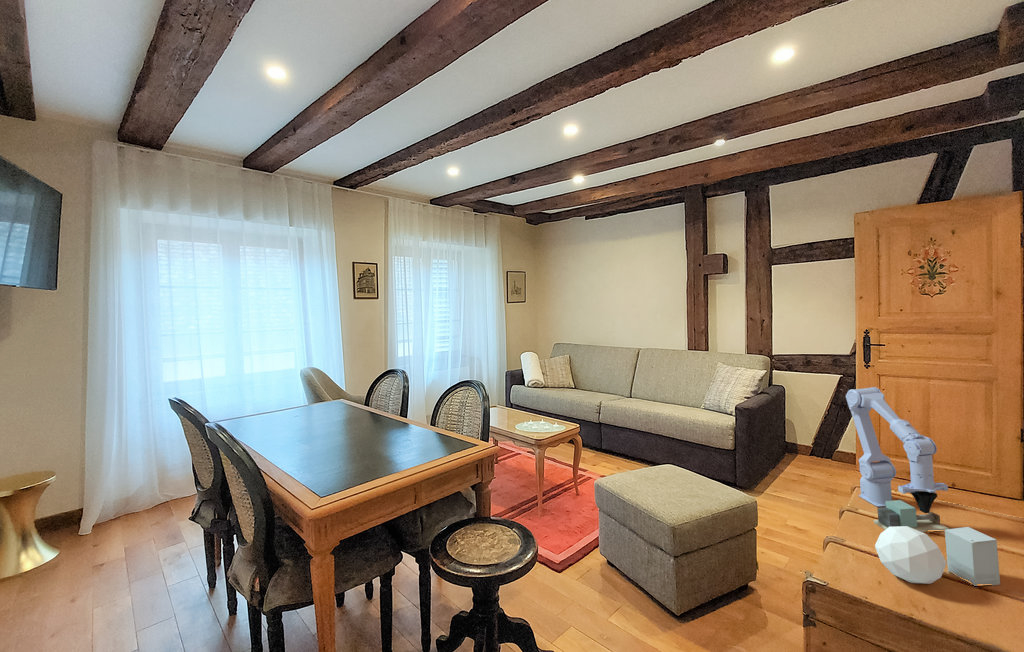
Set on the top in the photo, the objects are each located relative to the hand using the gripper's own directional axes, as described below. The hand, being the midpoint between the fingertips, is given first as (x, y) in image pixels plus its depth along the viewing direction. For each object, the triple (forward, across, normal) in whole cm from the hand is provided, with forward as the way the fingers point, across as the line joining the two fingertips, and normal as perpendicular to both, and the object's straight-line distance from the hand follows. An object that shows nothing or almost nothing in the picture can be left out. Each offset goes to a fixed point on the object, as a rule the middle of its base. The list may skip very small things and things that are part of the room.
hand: (924, 511), depth 144 cm
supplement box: (+5, -11, -27) cm, 30 cm away
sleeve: (+3, -8, 0) cm, 8 cm away
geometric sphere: (+5, -26, -26) cm, 37 cm away
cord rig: (+5, -5, 0) cm, 7 cm away
